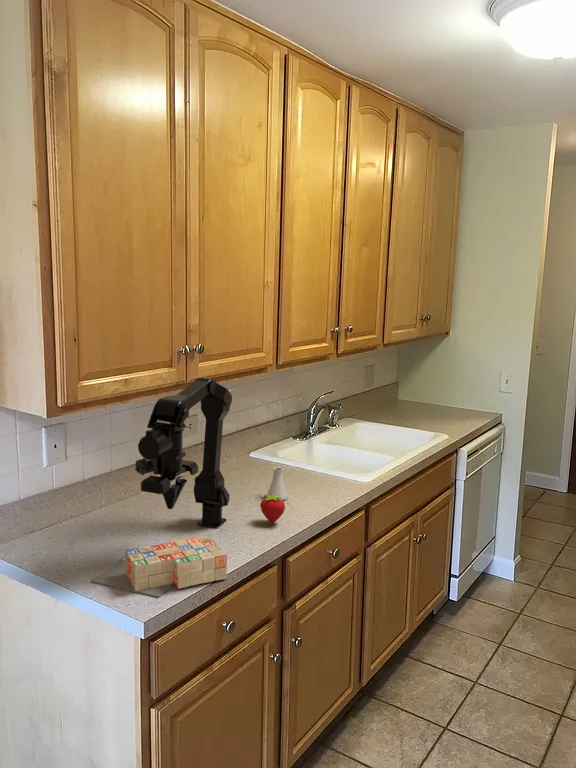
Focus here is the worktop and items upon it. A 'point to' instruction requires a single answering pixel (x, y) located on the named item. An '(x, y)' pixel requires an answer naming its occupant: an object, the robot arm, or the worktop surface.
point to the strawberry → (272, 508)
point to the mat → (125, 580)
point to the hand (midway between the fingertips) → (170, 508)
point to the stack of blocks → (176, 564)
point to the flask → (278, 485)
